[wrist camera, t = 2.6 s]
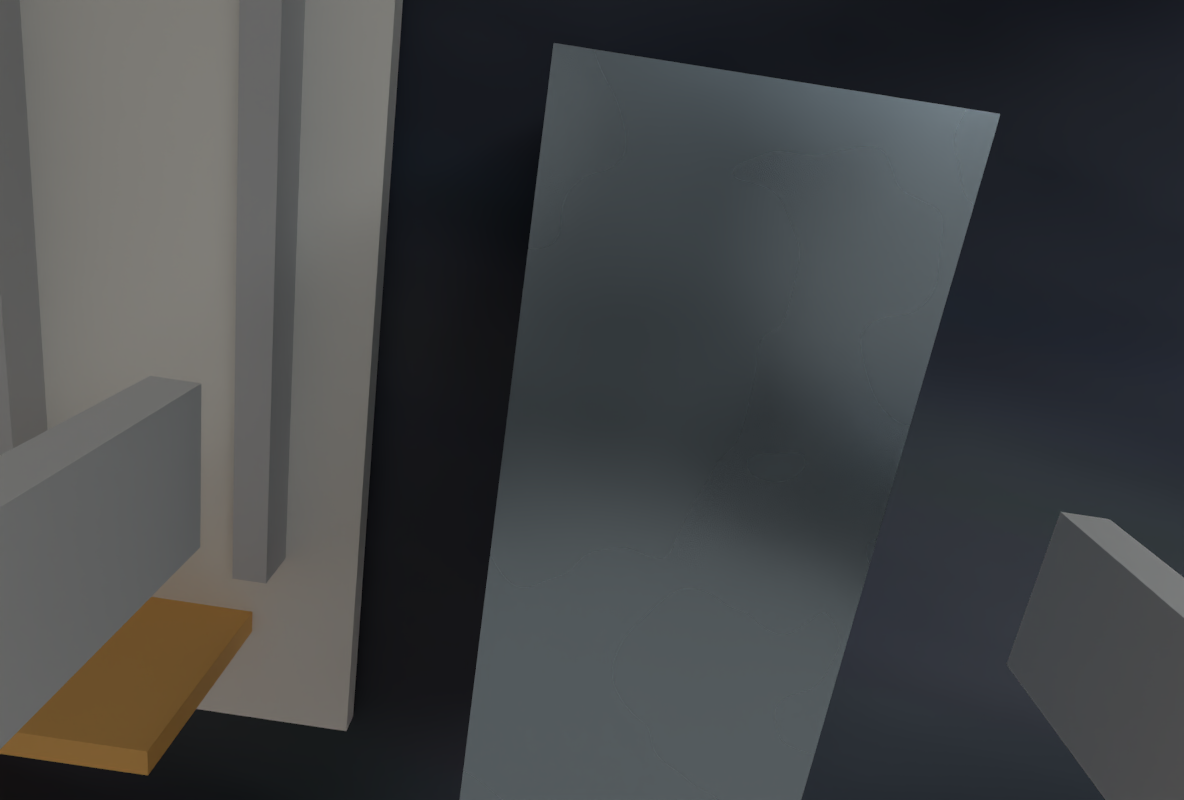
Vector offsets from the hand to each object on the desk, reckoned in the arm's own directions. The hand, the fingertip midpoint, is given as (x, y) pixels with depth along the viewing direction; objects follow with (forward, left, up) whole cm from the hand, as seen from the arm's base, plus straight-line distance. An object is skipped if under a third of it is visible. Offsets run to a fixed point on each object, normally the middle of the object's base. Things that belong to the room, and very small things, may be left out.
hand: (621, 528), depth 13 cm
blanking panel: (0, 0, -7) cm, 7 cm away
